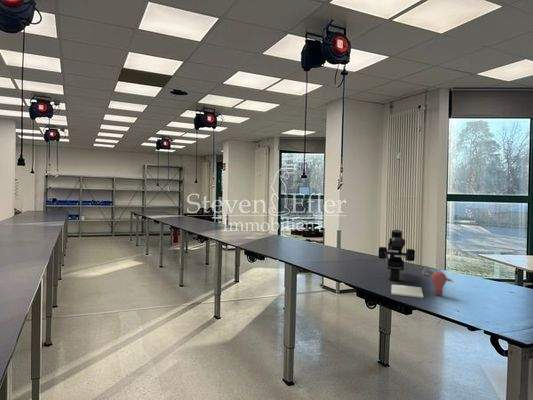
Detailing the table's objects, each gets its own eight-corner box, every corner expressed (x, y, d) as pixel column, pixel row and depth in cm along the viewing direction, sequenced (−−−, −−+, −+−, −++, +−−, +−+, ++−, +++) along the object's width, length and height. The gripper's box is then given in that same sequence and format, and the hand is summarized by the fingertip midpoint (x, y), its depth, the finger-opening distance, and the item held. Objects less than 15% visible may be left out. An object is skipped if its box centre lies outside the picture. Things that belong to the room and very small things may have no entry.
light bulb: (432, 292, 203) (433, 269, 203) (447, 295, 199) (448, 271, 198) (428, 295, 198) (429, 271, 197) (443, 297, 193) (444, 273, 193)
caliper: (422, 275, 246) (423, 265, 246) (424, 275, 247) (424, 265, 247) (452, 282, 229) (452, 271, 229) (453, 282, 229) (454, 271, 229)
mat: (391, 285, 215) (391, 284, 215) (420, 288, 210) (421, 287, 210) (391, 294, 197) (391, 292, 197) (423, 297, 192) (423, 296, 192)
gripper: (379, 234, 222) (378, 242, 207) (414, 237, 216) (416, 245, 202) (378, 253, 224) (378, 262, 209) (413, 256, 218) (415, 265, 204)
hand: (396, 258), depth 206 cm, fingers open, 9 cm apart
